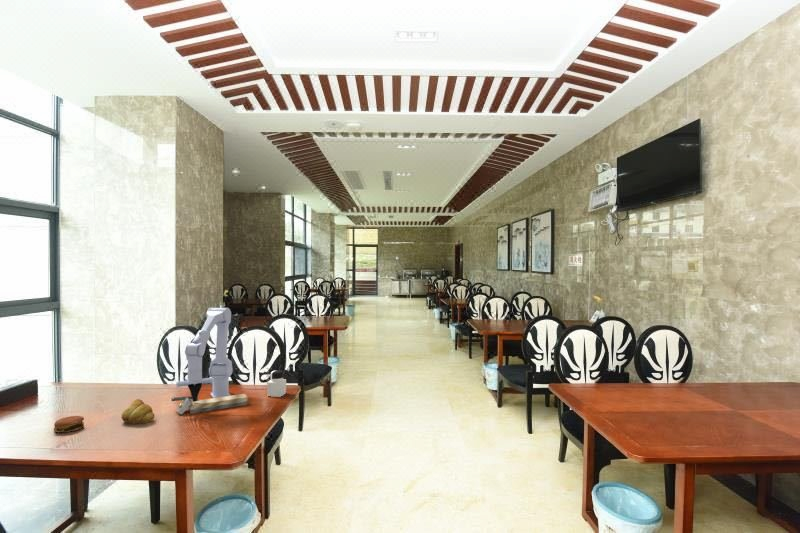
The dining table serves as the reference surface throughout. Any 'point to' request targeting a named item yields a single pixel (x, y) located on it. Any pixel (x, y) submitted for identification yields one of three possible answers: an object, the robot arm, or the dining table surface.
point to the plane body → (218, 403)
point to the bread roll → (138, 413)
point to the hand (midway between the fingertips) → (194, 401)
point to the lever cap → (184, 406)
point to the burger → (69, 424)
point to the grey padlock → (276, 384)
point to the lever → (181, 398)
